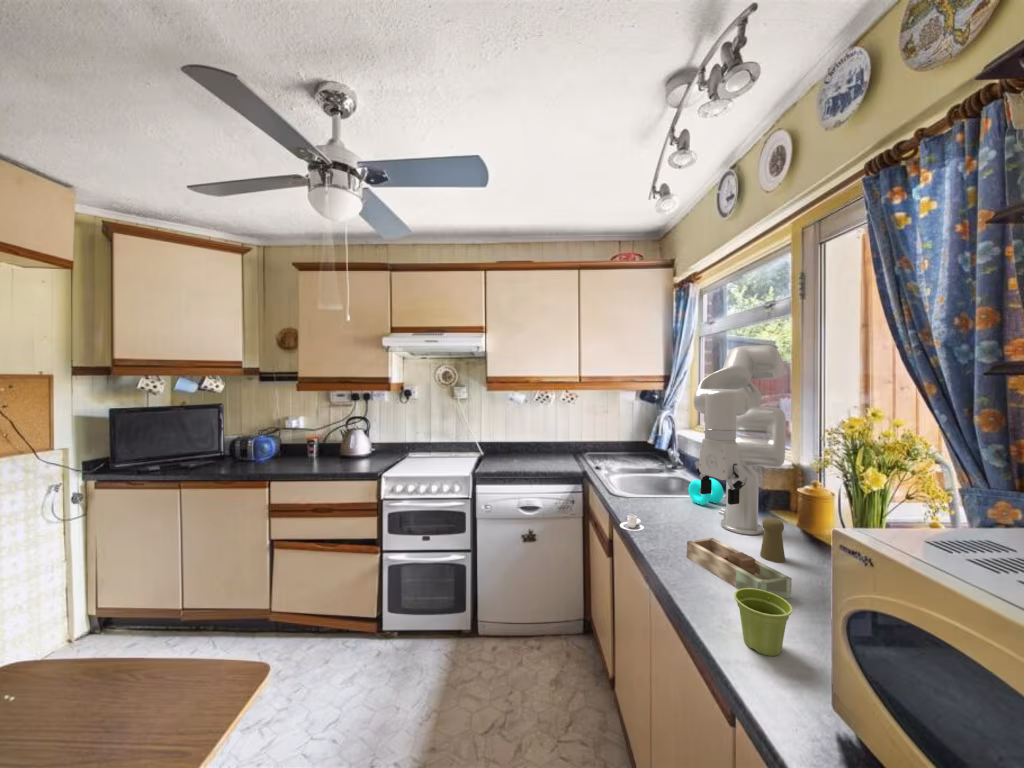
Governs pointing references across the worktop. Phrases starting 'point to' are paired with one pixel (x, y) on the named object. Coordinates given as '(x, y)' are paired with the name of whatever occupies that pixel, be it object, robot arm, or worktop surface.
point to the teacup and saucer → (632, 523)
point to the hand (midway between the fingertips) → (719, 498)
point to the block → (743, 562)
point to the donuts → (705, 498)
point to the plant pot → (763, 619)
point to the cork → (772, 540)
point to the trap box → (737, 568)
